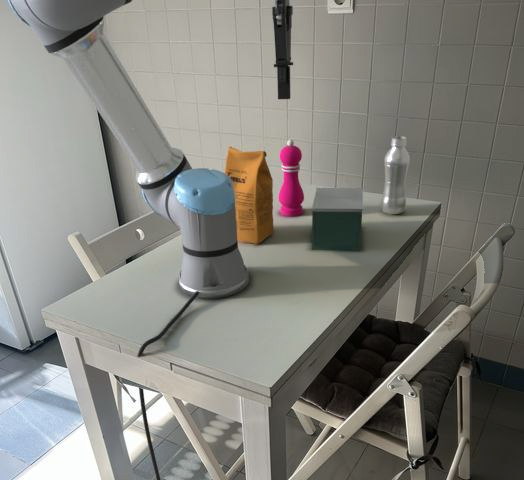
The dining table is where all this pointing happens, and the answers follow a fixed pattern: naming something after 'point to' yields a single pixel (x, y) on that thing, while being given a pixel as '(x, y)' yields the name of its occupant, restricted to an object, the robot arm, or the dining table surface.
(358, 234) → the tin
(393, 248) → the dining table surface
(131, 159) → the robot arm
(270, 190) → the coffee package
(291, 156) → the pepper mill
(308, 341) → the dining table surface
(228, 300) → the dining table surface
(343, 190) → the lid
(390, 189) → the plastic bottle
